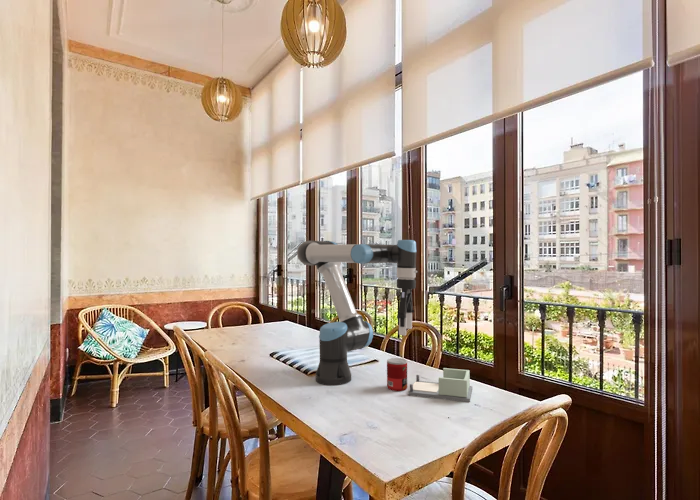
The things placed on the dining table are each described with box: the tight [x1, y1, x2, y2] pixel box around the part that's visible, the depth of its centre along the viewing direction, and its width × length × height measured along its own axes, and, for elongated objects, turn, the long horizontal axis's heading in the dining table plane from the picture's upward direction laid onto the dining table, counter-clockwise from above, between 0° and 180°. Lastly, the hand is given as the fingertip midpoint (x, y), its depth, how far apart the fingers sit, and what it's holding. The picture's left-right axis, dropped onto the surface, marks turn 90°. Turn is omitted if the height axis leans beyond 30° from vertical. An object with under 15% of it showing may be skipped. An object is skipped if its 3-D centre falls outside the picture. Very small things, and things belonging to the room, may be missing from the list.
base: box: [408, 374, 473, 403], centre depth 158 cm, size 22×15×4 cm
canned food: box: [386, 357, 408, 392], centre depth 163 cm, size 8×8×11 cm
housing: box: [438, 367, 471, 397], centre depth 157 cm, size 10×14×6 cm
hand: (405, 331), depth 165 cm, fingers open, 13 cm apart
